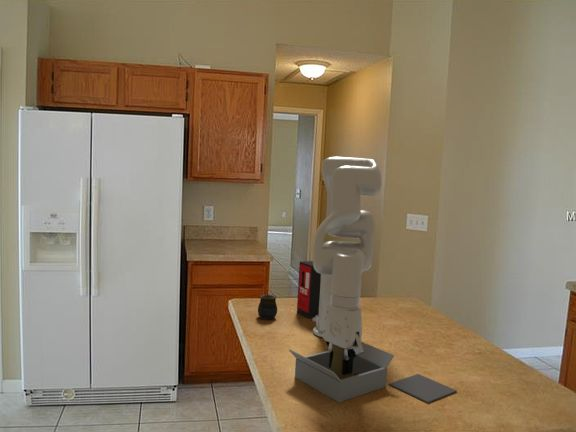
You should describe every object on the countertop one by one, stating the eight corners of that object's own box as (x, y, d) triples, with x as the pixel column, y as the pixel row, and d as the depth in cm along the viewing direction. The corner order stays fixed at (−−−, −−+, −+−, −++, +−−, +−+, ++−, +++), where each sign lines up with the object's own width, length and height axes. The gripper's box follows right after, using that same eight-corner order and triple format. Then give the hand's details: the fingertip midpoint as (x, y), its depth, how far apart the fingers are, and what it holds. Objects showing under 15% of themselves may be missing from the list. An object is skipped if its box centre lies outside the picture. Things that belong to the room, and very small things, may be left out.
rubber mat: (389, 384, 126) (389, 383, 126) (417, 375, 133) (418, 373, 133) (427, 403, 116) (428, 401, 116) (456, 392, 124) (456, 390, 124)
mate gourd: (275, 315, 183) (277, 289, 182) (278, 321, 176) (279, 294, 175) (256, 314, 182) (258, 288, 181) (258, 321, 175) (259, 293, 174)
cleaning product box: (309, 319, 181) (312, 265, 179) (296, 312, 188) (299, 261, 187) (344, 314, 189) (348, 264, 187) (331, 308, 197) (334, 259, 195)
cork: (326, 376, 129) (328, 336, 128) (348, 377, 129) (351, 337, 128) (330, 386, 123) (332, 344, 122) (353, 387, 123) (356, 345, 122)
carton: (287, 379, 126) (288, 349, 125) (346, 363, 139) (348, 336, 139) (330, 405, 113) (332, 372, 112) (392, 384, 126) (394, 354, 125)
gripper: (312, 295, 129) (308, 362, 130) (358, 311, 115) (353, 385, 117) (333, 292, 133) (329, 357, 135) (379, 307, 120) (374, 378, 121)
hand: (340, 369), depth 126 cm, fingers open, 4 cm apart
